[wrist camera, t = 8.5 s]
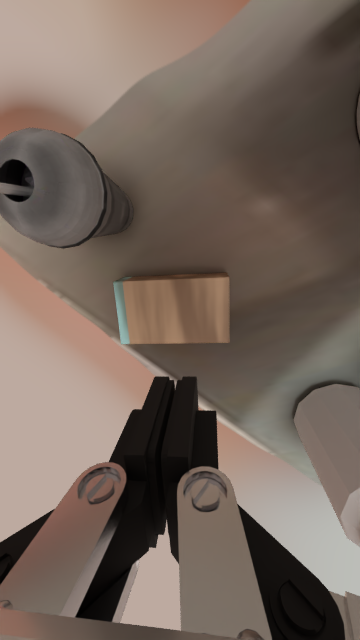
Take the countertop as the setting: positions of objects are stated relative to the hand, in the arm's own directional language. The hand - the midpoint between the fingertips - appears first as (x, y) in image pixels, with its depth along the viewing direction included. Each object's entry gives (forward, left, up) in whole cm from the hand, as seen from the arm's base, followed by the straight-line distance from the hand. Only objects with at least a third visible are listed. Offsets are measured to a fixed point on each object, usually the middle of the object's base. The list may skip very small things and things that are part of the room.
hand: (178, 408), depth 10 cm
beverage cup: (+9, -10, -21) cm, 25 cm away
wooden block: (-3, +1, -19) cm, 20 cm away
